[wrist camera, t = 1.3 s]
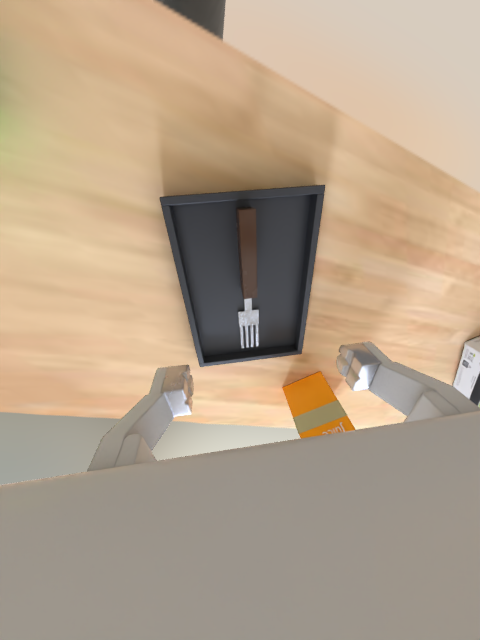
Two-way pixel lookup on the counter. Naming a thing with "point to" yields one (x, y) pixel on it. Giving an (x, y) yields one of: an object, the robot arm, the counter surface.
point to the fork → (247, 272)
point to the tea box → (469, 371)
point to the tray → (224, 274)
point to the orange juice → (316, 407)
